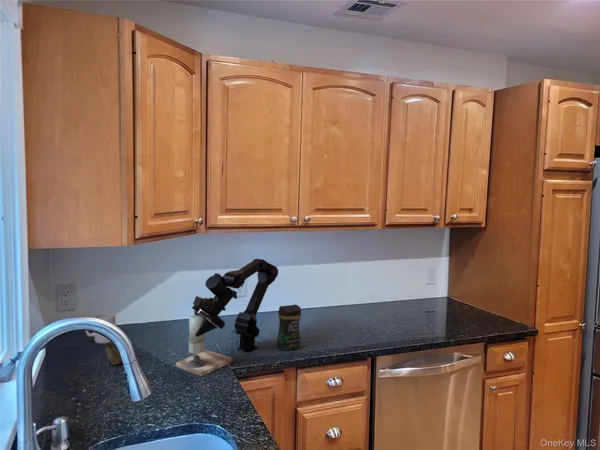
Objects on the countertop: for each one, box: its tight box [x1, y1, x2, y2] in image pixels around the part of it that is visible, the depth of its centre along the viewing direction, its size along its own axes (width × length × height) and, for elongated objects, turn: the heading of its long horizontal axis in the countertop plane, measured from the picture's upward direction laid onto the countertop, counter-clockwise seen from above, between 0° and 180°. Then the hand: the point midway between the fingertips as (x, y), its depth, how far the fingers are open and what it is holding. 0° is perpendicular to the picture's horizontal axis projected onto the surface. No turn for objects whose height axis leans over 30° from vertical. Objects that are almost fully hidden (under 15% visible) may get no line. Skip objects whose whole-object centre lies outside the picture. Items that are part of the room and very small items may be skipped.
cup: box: [104, 342, 122, 366], centre depth 169 cm, size 8×7×8 cm
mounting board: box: [175, 349, 233, 377], centre depth 171 cm, size 16×14×5 cm
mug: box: [85, 312, 116, 344], centre depth 192 cm, size 12×8×11 cm
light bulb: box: [188, 314, 205, 355], centre depth 167 cm, size 6×6×13 cm
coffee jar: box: [276, 304, 302, 351], centre depth 190 cm, size 10×8×19 cm
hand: (193, 333), depth 166 cm, fingers closed on light bulb, 5 cm apart
